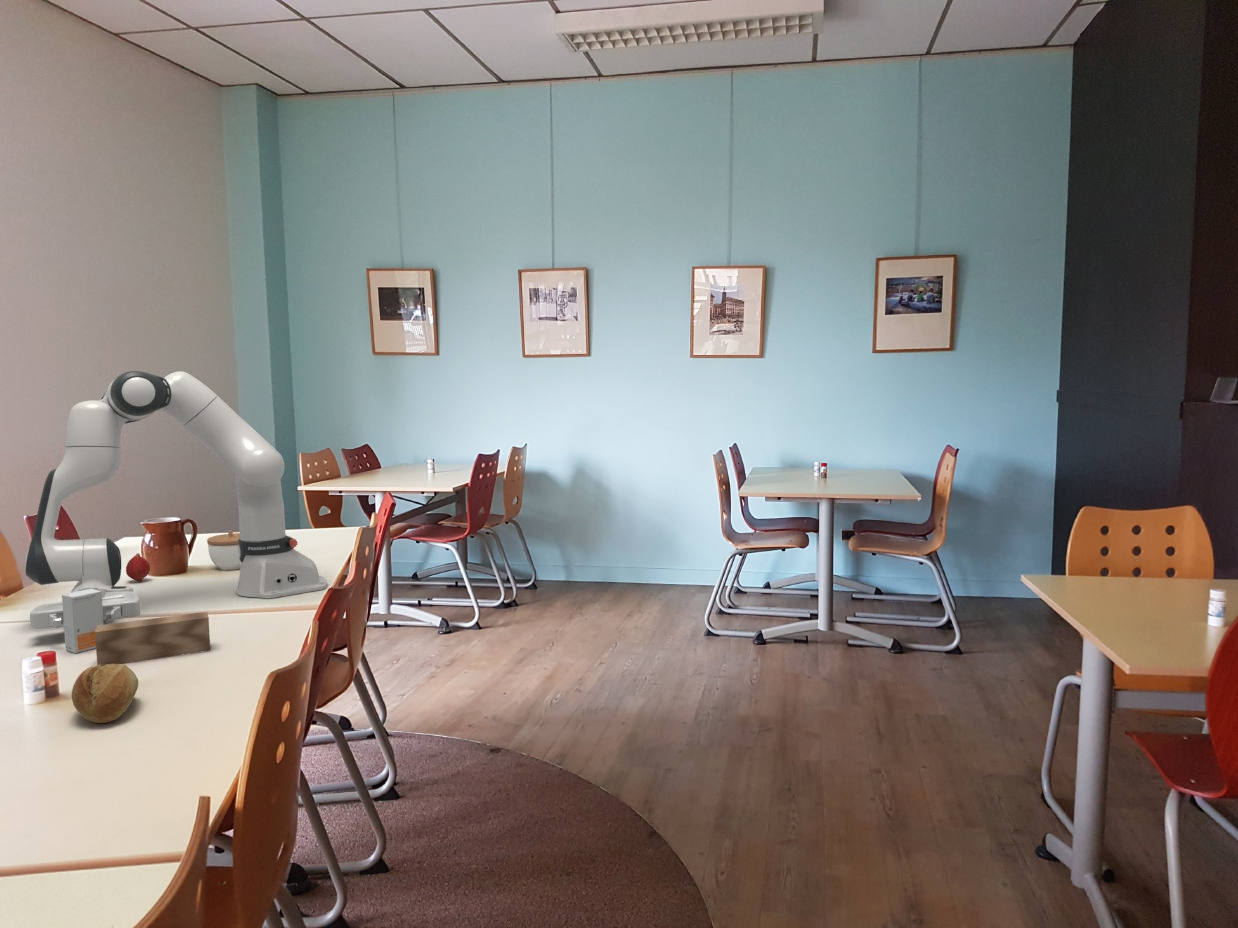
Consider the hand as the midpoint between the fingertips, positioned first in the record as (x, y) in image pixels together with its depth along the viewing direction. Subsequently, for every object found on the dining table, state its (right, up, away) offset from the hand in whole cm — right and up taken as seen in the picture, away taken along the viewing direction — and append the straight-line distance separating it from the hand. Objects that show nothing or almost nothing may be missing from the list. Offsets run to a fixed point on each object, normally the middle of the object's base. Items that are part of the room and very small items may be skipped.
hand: (83, 620), depth 177 cm
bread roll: (+26, -10, -34) cm, 44 cm away
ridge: (+18, -6, -5) cm, 20 cm away
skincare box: (+1, -6, -1) cm, 6 cm away
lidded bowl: (-2, +2, +72) cm, 72 cm away
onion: (-20, 0, +55) cm, 59 cm away
